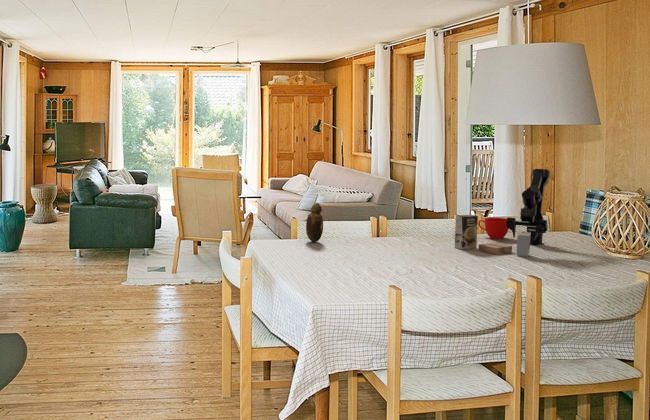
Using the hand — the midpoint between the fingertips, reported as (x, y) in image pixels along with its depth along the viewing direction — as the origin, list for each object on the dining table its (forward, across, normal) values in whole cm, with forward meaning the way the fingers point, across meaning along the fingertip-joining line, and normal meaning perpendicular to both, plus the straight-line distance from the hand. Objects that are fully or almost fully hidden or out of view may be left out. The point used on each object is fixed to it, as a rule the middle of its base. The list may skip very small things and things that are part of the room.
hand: (523, 238), depth 349 cm
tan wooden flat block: (+3, -14, +9) cm, 17 cm away
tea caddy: (+6, 0, +6) cm, 8 cm away
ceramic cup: (-24, -24, +36) cm, 49 cm away
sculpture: (+15, -102, -3) cm, 103 cm away
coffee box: (+1, -29, +11) cm, 31 cm away
